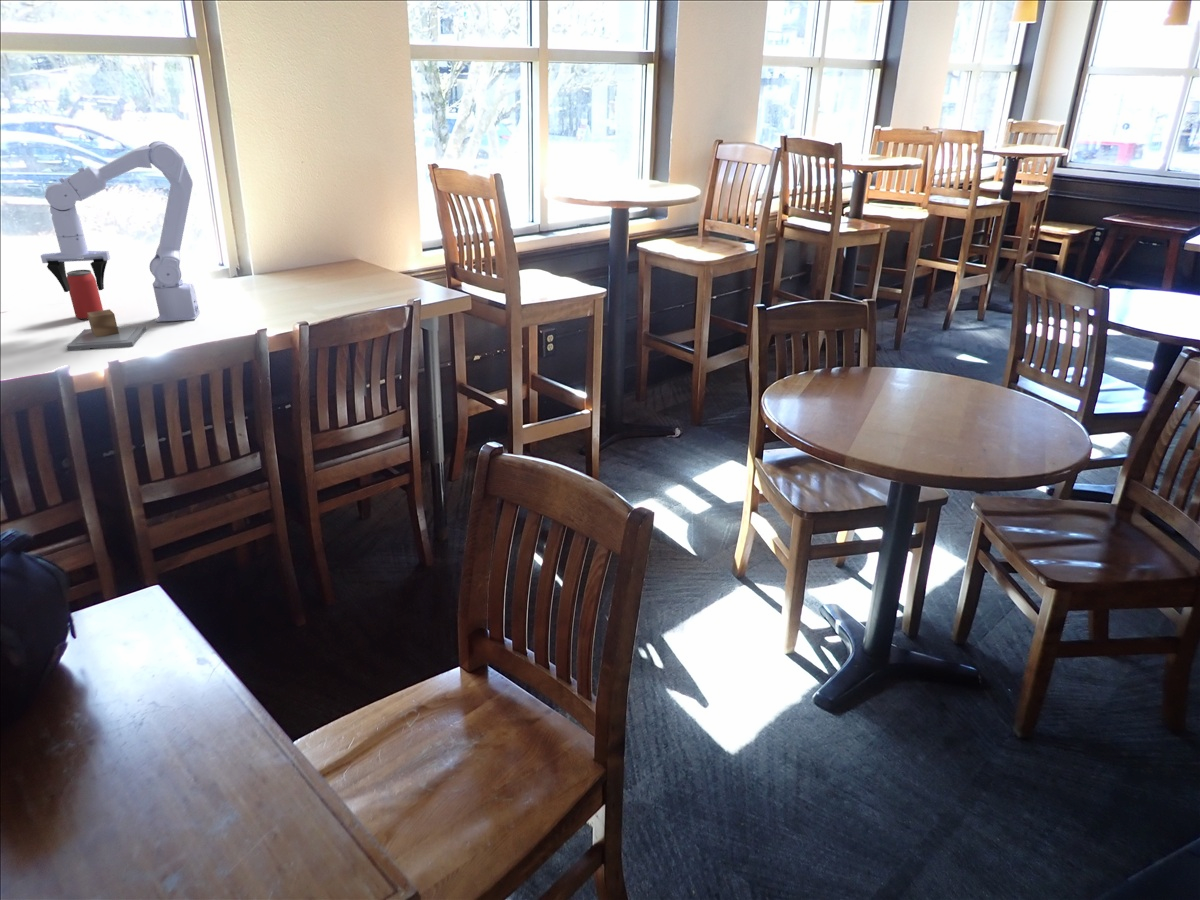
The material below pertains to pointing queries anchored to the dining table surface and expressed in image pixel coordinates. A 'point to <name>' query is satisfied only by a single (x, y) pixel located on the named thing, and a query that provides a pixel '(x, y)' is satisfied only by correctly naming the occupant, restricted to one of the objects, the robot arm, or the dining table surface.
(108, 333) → the walnut block
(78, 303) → the beer can
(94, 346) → the coaster
